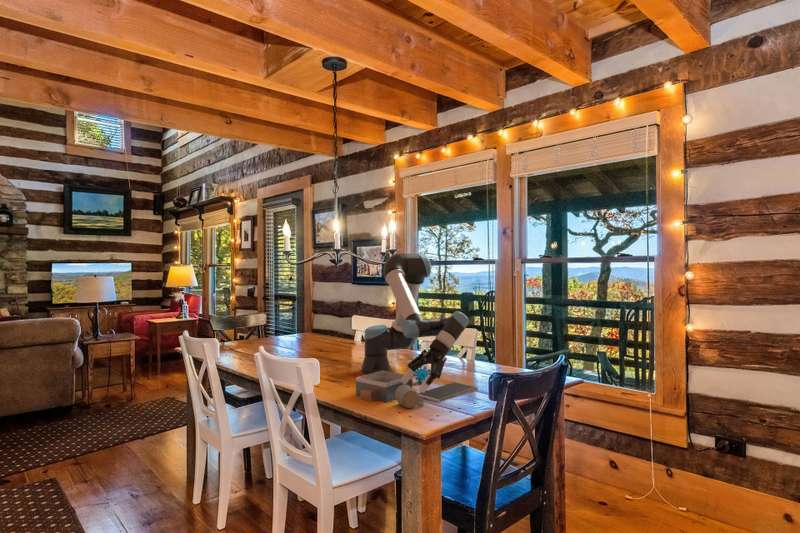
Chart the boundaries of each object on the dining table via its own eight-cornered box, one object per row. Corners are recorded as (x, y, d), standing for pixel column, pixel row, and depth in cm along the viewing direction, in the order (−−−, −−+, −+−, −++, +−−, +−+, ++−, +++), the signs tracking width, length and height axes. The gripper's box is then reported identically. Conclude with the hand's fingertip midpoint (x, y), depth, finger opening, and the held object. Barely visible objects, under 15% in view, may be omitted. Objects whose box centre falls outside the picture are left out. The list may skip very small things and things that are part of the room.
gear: (416, 382, 213) (411, 363, 220) (411, 389, 217) (407, 370, 224) (438, 383, 218) (432, 364, 224) (432, 389, 221) (427, 371, 228)
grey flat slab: (414, 397, 197) (414, 393, 197) (455, 385, 216) (455, 381, 216) (438, 404, 187) (438, 400, 187) (478, 390, 206) (478, 386, 206)
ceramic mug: (402, 410, 178) (402, 390, 178) (394, 404, 185) (394, 385, 185) (427, 407, 182) (428, 387, 182) (418, 401, 189) (419, 382, 189)
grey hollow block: (350, 396, 197) (350, 378, 197) (382, 386, 212) (382, 370, 212) (381, 404, 186) (381, 385, 186) (412, 393, 201) (412, 375, 201)
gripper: (466, 355, 182) (435, 400, 174) (430, 346, 203) (400, 385, 195) (455, 342, 179) (423, 387, 171) (419, 334, 200) (389, 374, 193)
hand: (411, 386), depth 183 cm, fingers open, 13 cm apart
